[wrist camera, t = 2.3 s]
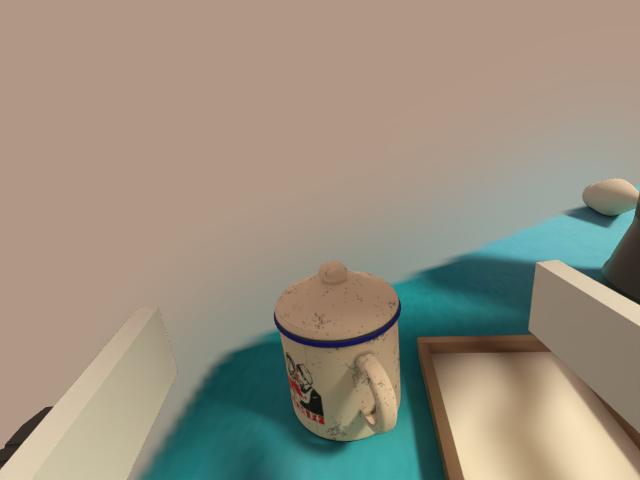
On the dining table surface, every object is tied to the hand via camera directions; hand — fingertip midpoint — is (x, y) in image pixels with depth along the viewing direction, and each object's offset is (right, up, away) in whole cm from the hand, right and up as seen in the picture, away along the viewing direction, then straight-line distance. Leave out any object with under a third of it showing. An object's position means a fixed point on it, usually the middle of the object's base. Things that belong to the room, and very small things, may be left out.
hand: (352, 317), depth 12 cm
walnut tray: (+13, -10, +12) cm, 20 cm away
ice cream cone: (+48, +6, +45) cm, 66 cm away
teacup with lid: (+1, -10, +15) cm, 18 cm away
